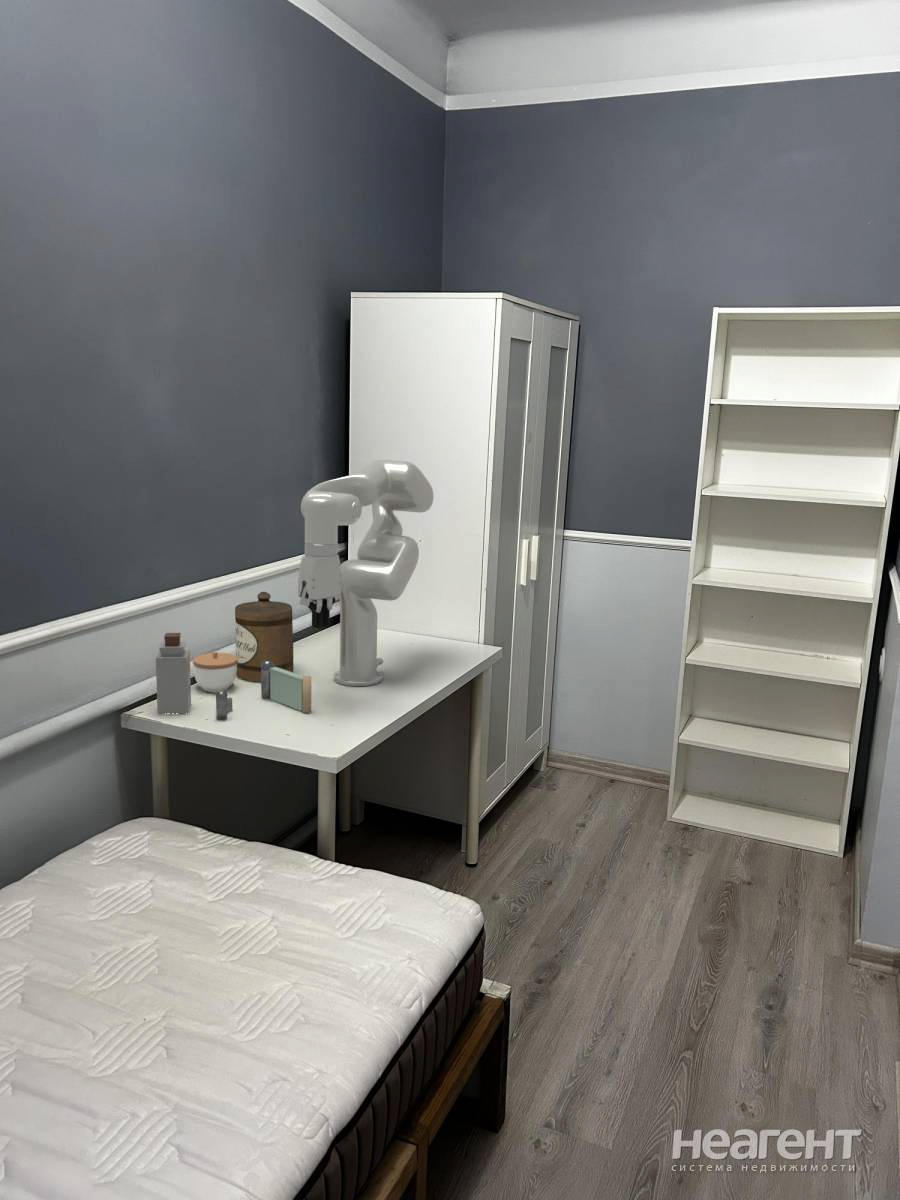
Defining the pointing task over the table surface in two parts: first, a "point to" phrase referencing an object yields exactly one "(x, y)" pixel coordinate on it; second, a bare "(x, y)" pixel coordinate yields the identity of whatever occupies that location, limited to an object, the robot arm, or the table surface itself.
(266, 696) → the hinge post
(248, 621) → the wooden container
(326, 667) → the table surface
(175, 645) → the perfume bottle
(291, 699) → the gate
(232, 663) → the lidded jar
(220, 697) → the post
